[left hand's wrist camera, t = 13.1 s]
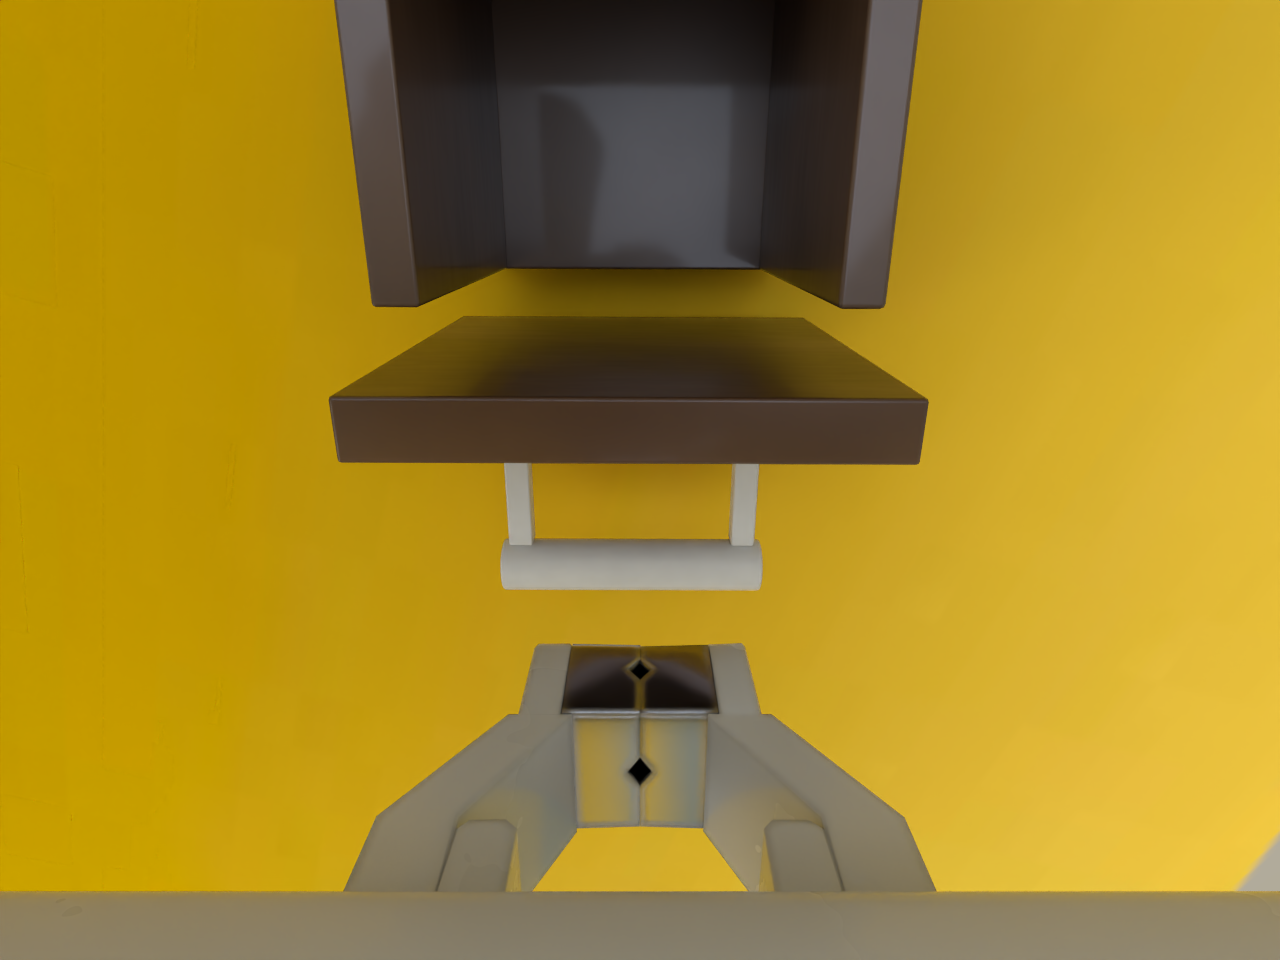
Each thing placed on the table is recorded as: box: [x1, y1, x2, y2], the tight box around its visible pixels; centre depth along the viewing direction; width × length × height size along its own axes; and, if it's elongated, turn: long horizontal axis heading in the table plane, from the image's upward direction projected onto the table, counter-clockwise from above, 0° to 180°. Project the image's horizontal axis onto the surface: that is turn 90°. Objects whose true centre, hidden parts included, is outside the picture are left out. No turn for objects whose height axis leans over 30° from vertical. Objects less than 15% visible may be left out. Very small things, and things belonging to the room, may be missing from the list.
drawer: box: [329, 0, 928, 590], centre depth 15 cm, size 24×10×10 cm, turn 0°
